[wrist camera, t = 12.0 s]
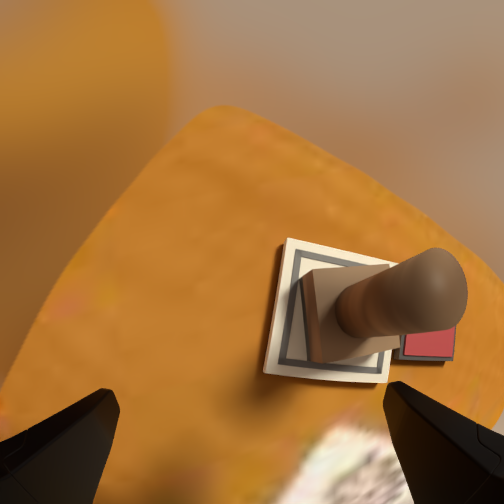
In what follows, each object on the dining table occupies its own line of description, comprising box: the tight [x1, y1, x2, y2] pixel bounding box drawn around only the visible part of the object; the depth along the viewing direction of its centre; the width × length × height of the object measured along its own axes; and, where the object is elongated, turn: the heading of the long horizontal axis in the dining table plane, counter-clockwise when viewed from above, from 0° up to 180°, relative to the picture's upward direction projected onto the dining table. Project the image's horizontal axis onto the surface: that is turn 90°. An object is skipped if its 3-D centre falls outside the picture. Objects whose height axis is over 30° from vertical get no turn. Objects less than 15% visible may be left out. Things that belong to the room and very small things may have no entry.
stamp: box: [299, 248, 468, 364], centre depth 16 cm, size 6×6×11 cm
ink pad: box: [394, 325, 456, 361], centre depth 23 cm, size 8×7×1 cm
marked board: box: [263, 238, 398, 383], centre depth 21 cm, size 10×10×1 cm
